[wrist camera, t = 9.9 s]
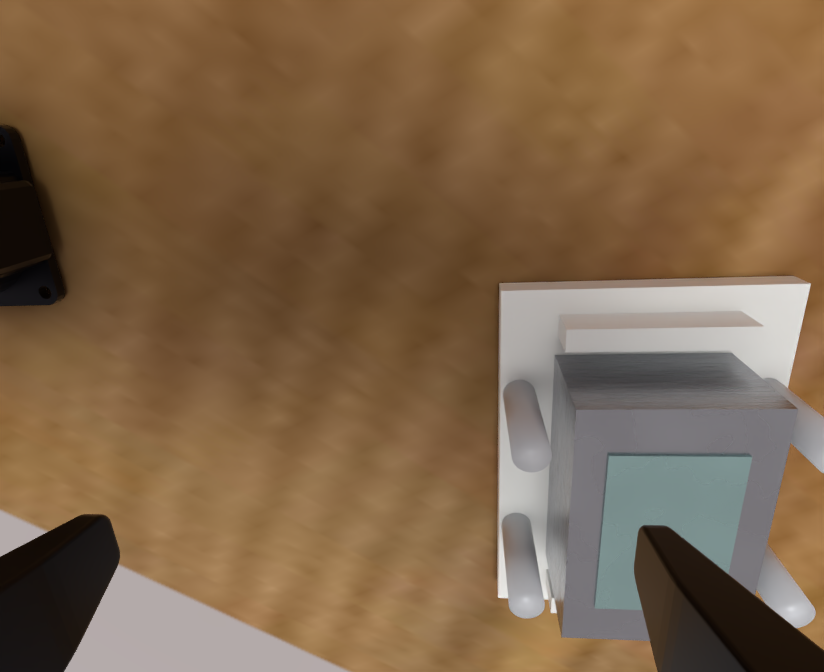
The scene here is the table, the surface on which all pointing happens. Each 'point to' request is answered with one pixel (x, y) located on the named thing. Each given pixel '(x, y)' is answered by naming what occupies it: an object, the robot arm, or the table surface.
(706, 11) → the table surface
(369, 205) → the table surface
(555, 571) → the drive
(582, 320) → the white peg stand
